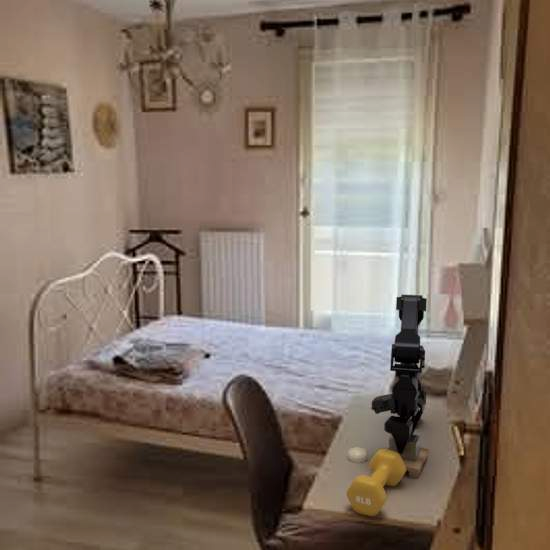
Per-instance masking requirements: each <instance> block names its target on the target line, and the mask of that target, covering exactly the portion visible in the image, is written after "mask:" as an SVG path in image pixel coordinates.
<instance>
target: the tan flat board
mask: <svg viewBox="0 0 550 550" xmlns="http://www.w3.org/2000/svg"><path fill="white" fill-rule="evenodd" d="M386 450H389V446H388V447H387V448H386ZM429 452H430V451H429V448H425V447H420V454H419V456H418V458H417V460H416V462H415V461H410V460H405V459H402V460H403V462H404V464H405V466H406V472H408V478H412V479H418V477H419V475H420V473H421V471H422V469H423V467H424V465H425V463H424V462H426V461H425V460H427V459H426V458H428V455H429Z"/></svg>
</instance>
